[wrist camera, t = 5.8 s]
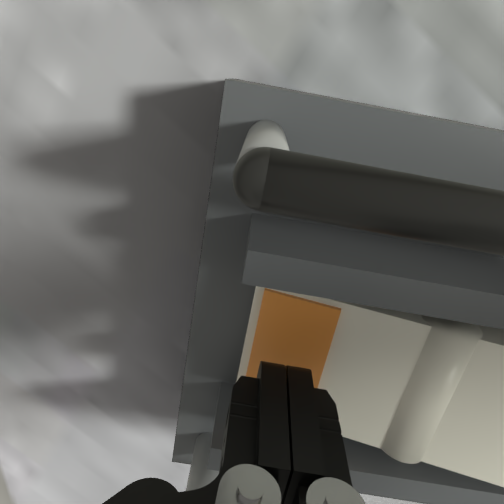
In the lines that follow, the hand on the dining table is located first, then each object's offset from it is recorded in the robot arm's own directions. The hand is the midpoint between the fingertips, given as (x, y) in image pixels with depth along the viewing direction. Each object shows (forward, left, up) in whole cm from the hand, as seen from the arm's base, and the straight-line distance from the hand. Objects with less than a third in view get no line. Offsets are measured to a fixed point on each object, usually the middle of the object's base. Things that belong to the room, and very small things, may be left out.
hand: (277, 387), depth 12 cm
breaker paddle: (-5, 0, -1) cm, 5 cm away
